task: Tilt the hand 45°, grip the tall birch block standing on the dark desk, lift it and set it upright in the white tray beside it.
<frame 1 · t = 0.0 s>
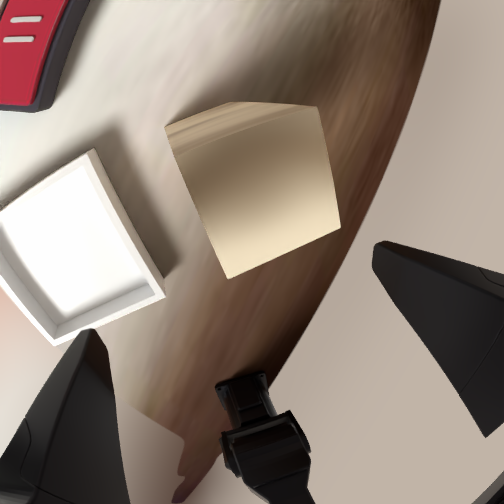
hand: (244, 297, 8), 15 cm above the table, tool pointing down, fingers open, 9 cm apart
birch block: (209, 144, 20), on the table
white tray: (67, 252, 20), on the table
calculator: (26, 14, 10), on the table
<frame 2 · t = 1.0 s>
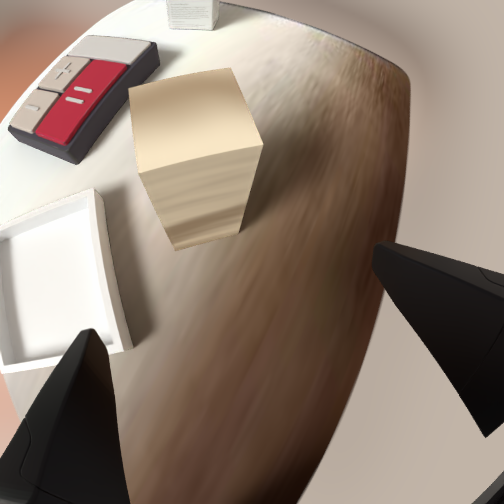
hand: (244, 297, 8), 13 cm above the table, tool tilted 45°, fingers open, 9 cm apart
birch block: (198, 212, 23), on the table
white tray: (51, 288, 20), on the table
calculator: (86, 101, 25), on the table
skincare box: (193, 24, 29), on the table
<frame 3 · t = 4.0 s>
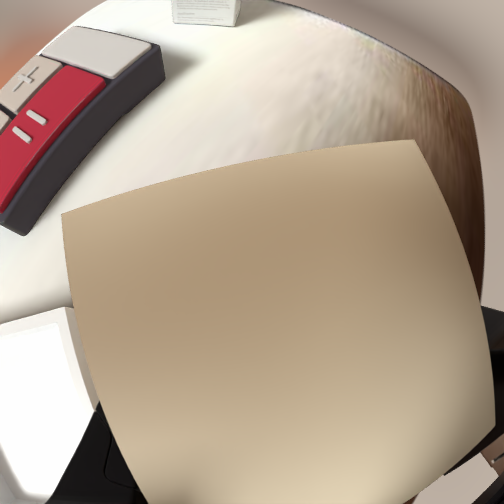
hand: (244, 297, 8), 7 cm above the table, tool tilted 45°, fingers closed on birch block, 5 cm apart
birch block: (239, 337, 14), on the table, touching gripper
white tray: (36, 428, 11), on the table
calculator: (55, 125, 17), on the table
skincare box: (205, 19, 21), on the table
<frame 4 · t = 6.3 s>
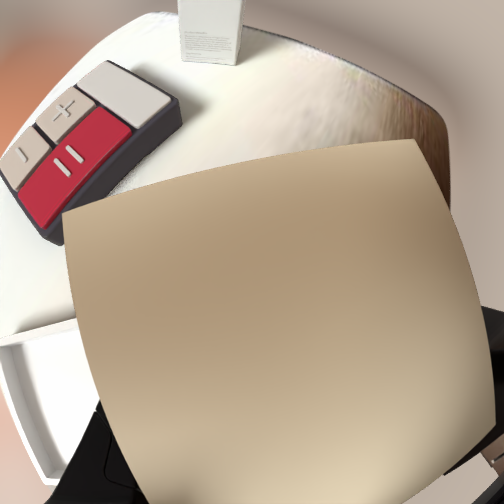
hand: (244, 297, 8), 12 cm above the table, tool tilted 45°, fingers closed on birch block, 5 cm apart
birch block: (239, 337, 14), point 6 cm above the table, touching gripper
white tray: (82, 404, 17), on the table
calculator: (88, 152, 23), on the table
skincare box: (210, 55, 27), on the table
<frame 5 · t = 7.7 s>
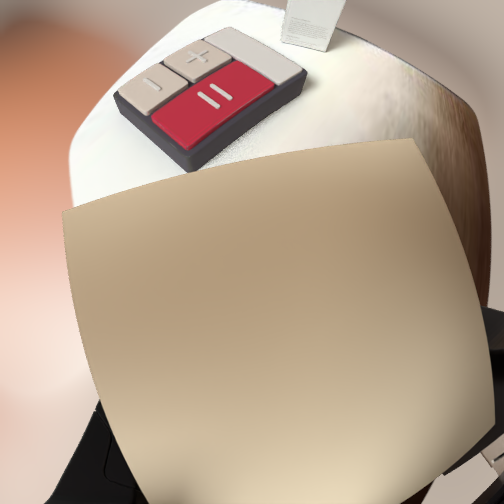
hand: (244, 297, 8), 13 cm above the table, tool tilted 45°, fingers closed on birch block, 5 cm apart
birch block: (239, 337, 14), point 6 cm above the table, touching gripper
calculator: (211, 100, 26), on the table
skincare box: (301, 41, 30), on the table
when the fingers open (9 cm above the table, at t = 9.0 s): birch block drops 1 cm, resting on white tray.
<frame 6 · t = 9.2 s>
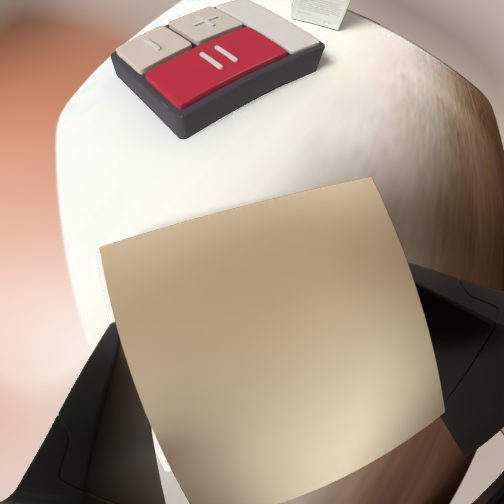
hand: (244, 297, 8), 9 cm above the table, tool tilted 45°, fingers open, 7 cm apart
birch block: (236, 335, 16), point 1 cm above the table, touching white tray
white tray: (235, 335, 16), on the table
calculator: (217, 69, 22), on the table
skincare box: (312, 19, 26), on the table
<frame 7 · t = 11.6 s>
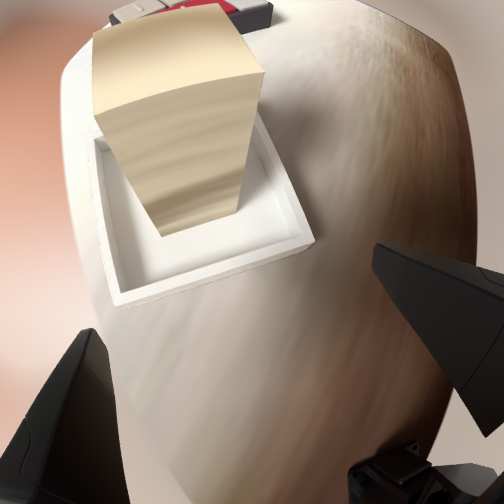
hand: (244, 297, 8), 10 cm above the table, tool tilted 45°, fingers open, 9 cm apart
birch block: (187, 191, 19), point 1 cm above the table, touching white tray
white tray: (188, 195, 19), on the table
calculator: (188, 27, 25), on the table
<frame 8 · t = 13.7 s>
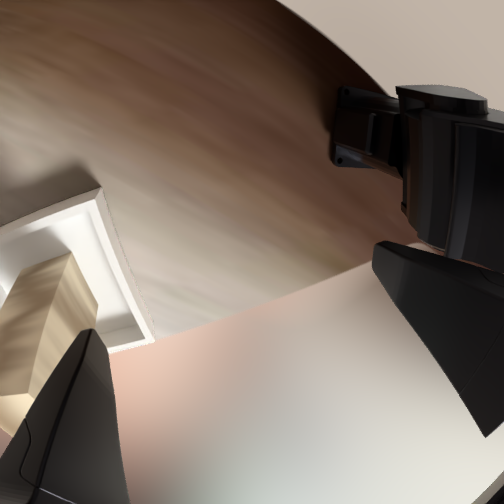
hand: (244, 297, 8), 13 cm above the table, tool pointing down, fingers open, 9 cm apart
birch block: (59, 287, 19), point 1 cm above the table, touching white tray
white tray: (60, 283, 19), on the table
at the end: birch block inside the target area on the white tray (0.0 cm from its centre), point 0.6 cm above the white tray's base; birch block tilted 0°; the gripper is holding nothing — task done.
